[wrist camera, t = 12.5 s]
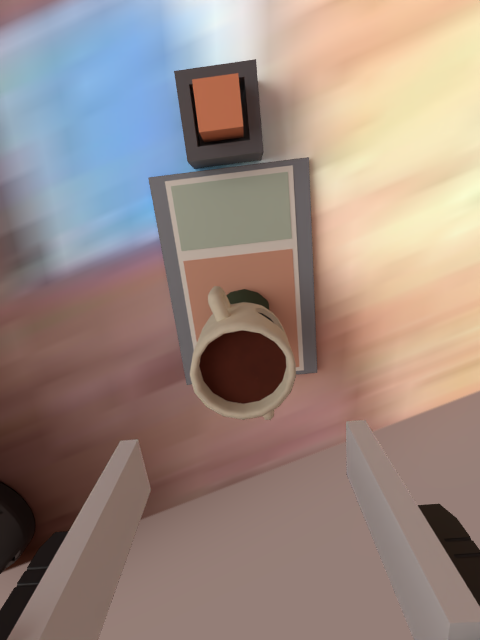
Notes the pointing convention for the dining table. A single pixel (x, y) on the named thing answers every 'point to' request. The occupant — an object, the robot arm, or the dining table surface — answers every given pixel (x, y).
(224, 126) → the button cap
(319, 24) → the dining table surface
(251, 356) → the character mug
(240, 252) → the picture board
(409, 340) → the dining table surface
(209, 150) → the button housing
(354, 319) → the dining table surface
